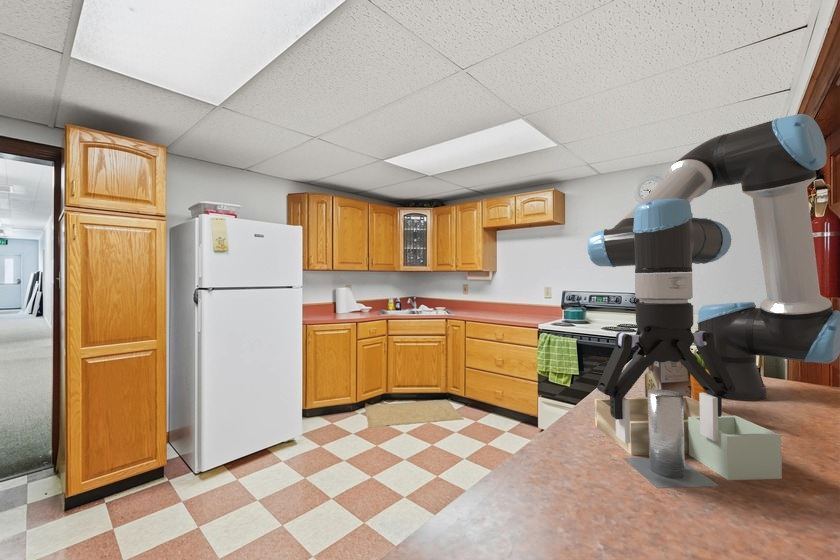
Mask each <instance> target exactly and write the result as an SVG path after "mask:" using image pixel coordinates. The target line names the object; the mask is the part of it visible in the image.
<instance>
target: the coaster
mask: <svg viewBox="0 0 840 560" xmlns="http://www.w3.org/2000/svg"><path fill="white" fill-rule="evenodd" d="M622 459H623V460H624V461H625V462H626V463H627V464H629V465H630V467H632V468H633V469H635V471H637V472H638V473H639V474H640V475H641V476H642V477H643V478H645V479H646V481H649V482H650V484H652V485H653V486H654V487H655V488H656V489H669V488H672V489H673V488H704V487H705V488H706V487H709V488H710V487H720V485H719V484H717V483H716V482H715V481H713V480H712V479H710V478H709V477H707V476H706V475H705V474H703V473H701V472H700V471H698V470H697V469H696V468H694V467H693V466H691V465H689V464H688V463H686V462H685V477H683V478H680V479H671V478H666V477H662V476H660V475H657V474H655V473H654V472H652V471H651V470H650V464H649V457H623V458H622Z"/></svg>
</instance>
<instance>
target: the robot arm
mask: <svg viewBox="0 0 840 560" xmlns="http://www.w3.org/2000/svg"><path fill="white" fill-rule="evenodd" d="M824 138H825V137H824V135H823V132H822V130H821V127H820V126H819V125H818V123H817V121H816V120H815V119H814V118H813V117H811V116H810V115H808V114H805V113H797V114H792V115H788V116H784V117H779V118H775V119H773V120H769V121H765V122H763V123H759V124H755V125H752V126H749V127H745V128H742V129H739V130H735V131H732V132H728V133H723V134H721V135H717V136H715V137H713V138H710V139H708V140H707V141H705V142H703V143H700V144H699V145H697V146H696V147H694V148H693V149H691V150H689V152H687V153H686V154H684V155H683V156H681V157H680V158H679V159H678V160H676V162H674V164H672V165H671V166H670V167H669V168H668V170H667V171H666V173H665V177H664V178H663V180H661V182H660V183H658V185H656V186H655V187H654V189H652V190H651V191H650V192H649V194H647V195H646V196H645V197H644V198H643V199H642V200H641V201H639V203H638V204H637V205H635V206H634V207H633V208H632V209H631V211H629V212H628V213H627V214H626V215H625V216H623V218H622V219H621V220H620V221H619V222H617V224H616V225H615V226H613V228H612V227H611V228H607V229H606V228H604V229H602V230H599V231H595V232H593V233H592V234H591V235H590V237H589V238H588V241H587V254H588V255H589V259H590V261H591V262H592V264H594V265H595V266H597V267H611V268H616V267H631V266H632V267H633V266H634V273H635V274H634V297H635V298H636V300H639V301H637V302H636V303H635V324H636V327H637V328H636V330H637V331H636V333H635V334H629V333H624V332H621V331H619V332H617V333H616V335H615V346H614V348H613V350H612V353H611V354H610V357H609V359H608V361H607V364H606V366H605V368H604V370H603V373H602V375H601V376H600V379H599V381H598V384H597V387H596V388H597V391H600V392H601V393H602V394H604V395H605V396H609V398H610V413H611V416H612V417H614V418H615V419H616V436H617V437H618V438H619V439H621V440H622V441H623V442H625V443H630V404H629V400H628V399H626V398H627V397H626V396H627V394H628V393H629V392H630V390H631V389H632V387H633V386H634V385H636V383H637V381H638V380H639V379H640V378H641V376H643V374H644V373H645V370H646V369H647V367H648V366H651V365H652V364H653V363H654V362H655V361H656V362H659V363H660V362H667V361H671V362H679V361H680V362H681V363H682V365H683V366H684V367H685V368H686V369H687V370H688V372H689V373H690V374H691V375H692V376H693V377H694V379H695V380H696V381H697V382H698V383H699V384H700V386H701V387H702V388H703V389H704V390H705V391H706V392H707V394H706V393H699V401H700V434H702V435H704V436H705V437H707V438H709V439H711V440H713V441H718V417H721V414H722V412H723V410H722V409H723V408H722V406H723V405H722V404H723V400H725V399H728V400H737V401H738V400H739V401H759V400H764V399H766V398H767V386H766V385H765V384H764V380H763V378H762V375H761V373H760V370H759V367H758V365H757V356H759V357H769V358H773V359H780V360H781V359H782V360H789V361H798V362H804V363H818V364H830V363H833V362H835V361H836V360H837V359H838V357H839V355H840V311H839V310H837V309H836V310H833V304H832V301H831V299H828V298H827V297H826V296H824V295H821V291H820V282H819V275H818V266H817V259H816V257H817V256H816V252H815V251H816V250H815V249H816V248H815V242H814V234H813V225H812V218H811V210H810V201H809V200H810V199H809V193H808V187H809V186H810V185H811V184H812V182H814V180H816V179H817V172H816V171H819V169H823V168H824V167H825V165H827V160H828V155H827V144H826V141H825V139H824ZM739 184H740V185H741V191H742V192H741V193H743V194H745V195H746V196H749V197H750V198H752V203H753V209H754V211H753V212H754V217H755V225H756V229H757V230H756V231H757V237H758V243H759V250H760V256H761V257H760V258H761V264H762V271H763V276H764V277H763V278H764V285H765V292H766V296H767V297H765V299H764V300H762V301H761V302H760V303H759V307H757V304H756V303H755V302H754V301H747V302H746V301H743V302H729V303H728V302H727V303H716V304H707V305H702V306H701V307H700V308H699V309H698V311H697V312H698V314H697V322H696V323H697V330H695V331H694V332H692V327H693V326H694V305H693V304H692V303H691V302H689V300H691V299H692V298H693V297H694V296H693V295H694V293H693V290H694V289H693V264H695V265H696V264H697V265H698V264H699V265H702V264H704V265H705V264H709V263H714V262H715V261H718V260H720V259H721V258H723V257H724V256H726V255H727V253H728V252H729V249H730V247H731V245H732V236H731V231H730V230H729V229H728V227H726V226H725V225H724V224H723V223H721V222H720V221H719V222H718V221H715V220H712V219H711V218H707V217H702V218H701V217H699V218H698V217H693V215H694V214H693V212H692V208H691V205H692V204H691V203H692V202H693V200H695V199H696V198H700V197H701V196H703V195H705V194H706V193H708V191H709V190H712V189H713V190H714V189H717V188H722V187H726V186H732V185H739ZM693 344H694V345H695V348H696V350H697V352H698V355H699V356H700V358H701V361H702V360H703V362H704V364H705V366H706V368H707V370H708V372H709V373H710V375H711V376H710V375H709V373H708V372H707V371H706V370H705V369H704V368H703V366H702V365H701V364H700V363H699V362H698V361H697V360H698V359H697V357H696V356H695V355H694V354H693V353H694V352H693V351H692V350H691V346H692V345H693ZM636 345H637V346H638V349H637V350H636V351H635V352H634V353H633V355H632V358H631V360H630V361H629V363H628V364H627V365H626V363H627V361H628V359H629V357H630V354H631V352H632V348H634V347H636ZM689 348H690V349H689ZM645 355H646V356H645ZM644 356H645V357H644ZM625 365H626V367H625ZM722 399H723V400H722Z"/></svg>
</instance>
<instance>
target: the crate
mask: <svg viewBox="0 0 840 560" xmlns="http://www.w3.org/2000/svg"><path fill="white" fill-rule="evenodd" d="M625 398H626V399H628V400H629V404H630V443H625V442H623V441H622V440H621V439H619V438H618V437H617V436H616V419H615V418H614V417H612V416H611V413H610V397H609V398H594V421H595V422H594V425H595V427H596V428H597V429H599V430H600V431H601V432H602V433H604V434H605V435H606V436H607V437H609V438H610V439H611V440H612V441H614V443H616V444H617V445H618V446H619V447H621V448H622V449H623V450H625V452H627V453H628V454H629V455H630V456H645V455H646V456H649V424H648V397H646V398H645V397H625ZM683 415H684V455H685V454H687V455H689V430H688V417H699V416H700V402H699V401H697V400H694V399H693V397H691V398H690V397H687V396H683ZM721 416H732V414H729V413H726V412H724V411H722V414H721Z"/></svg>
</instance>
